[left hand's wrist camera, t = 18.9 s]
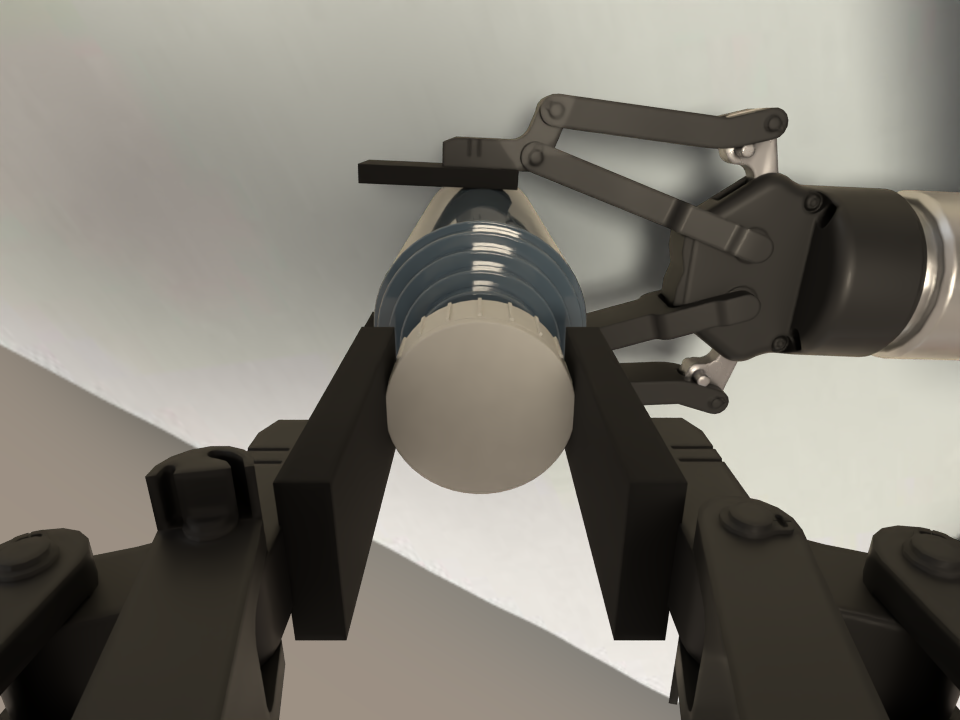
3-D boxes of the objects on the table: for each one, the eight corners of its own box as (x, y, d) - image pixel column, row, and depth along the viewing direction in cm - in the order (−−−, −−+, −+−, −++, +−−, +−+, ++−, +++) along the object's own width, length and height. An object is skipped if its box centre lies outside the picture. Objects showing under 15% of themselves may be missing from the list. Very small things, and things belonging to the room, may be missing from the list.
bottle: (560, 244, 34) (677, 426, 14) (469, 311, 35) (454, 563, 15) (492, 147, 32) (511, 193, 12) (398, 221, 33) (275, 374, 13)
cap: (404, 464, 15) (395, 503, 14) (380, 304, 14) (367, 328, 12) (570, 452, 15) (580, 489, 14) (564, 289, 14) (574, 310, 12)
